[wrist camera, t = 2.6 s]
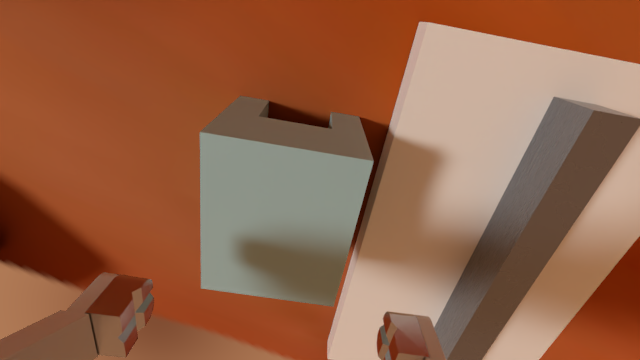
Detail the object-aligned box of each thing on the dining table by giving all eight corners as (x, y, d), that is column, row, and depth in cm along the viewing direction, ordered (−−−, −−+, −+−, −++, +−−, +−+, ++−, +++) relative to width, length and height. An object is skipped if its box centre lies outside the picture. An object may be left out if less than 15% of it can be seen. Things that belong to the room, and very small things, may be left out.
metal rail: (554, 96, 15) (594, 110, 13) (596, 104, 15) (644, 119, 13) (420, 354, 24) (429, 388, 22) (447, 357, 24) (459, 392, 22)
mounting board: (419, 21, 15) (428, 22, 13) (723, 82, 16) (759, 88, 14) (327, 341, 26) (327, 358, 24) (510, 365, 27) (519, 383, 25)
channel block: (240, 95, 17) (199, 131, 11) (359, 116, 17) (373, 161, 12) (234, 217, 20) (200, 288, 15) (331, 232, 21) (333, 306, 15)
